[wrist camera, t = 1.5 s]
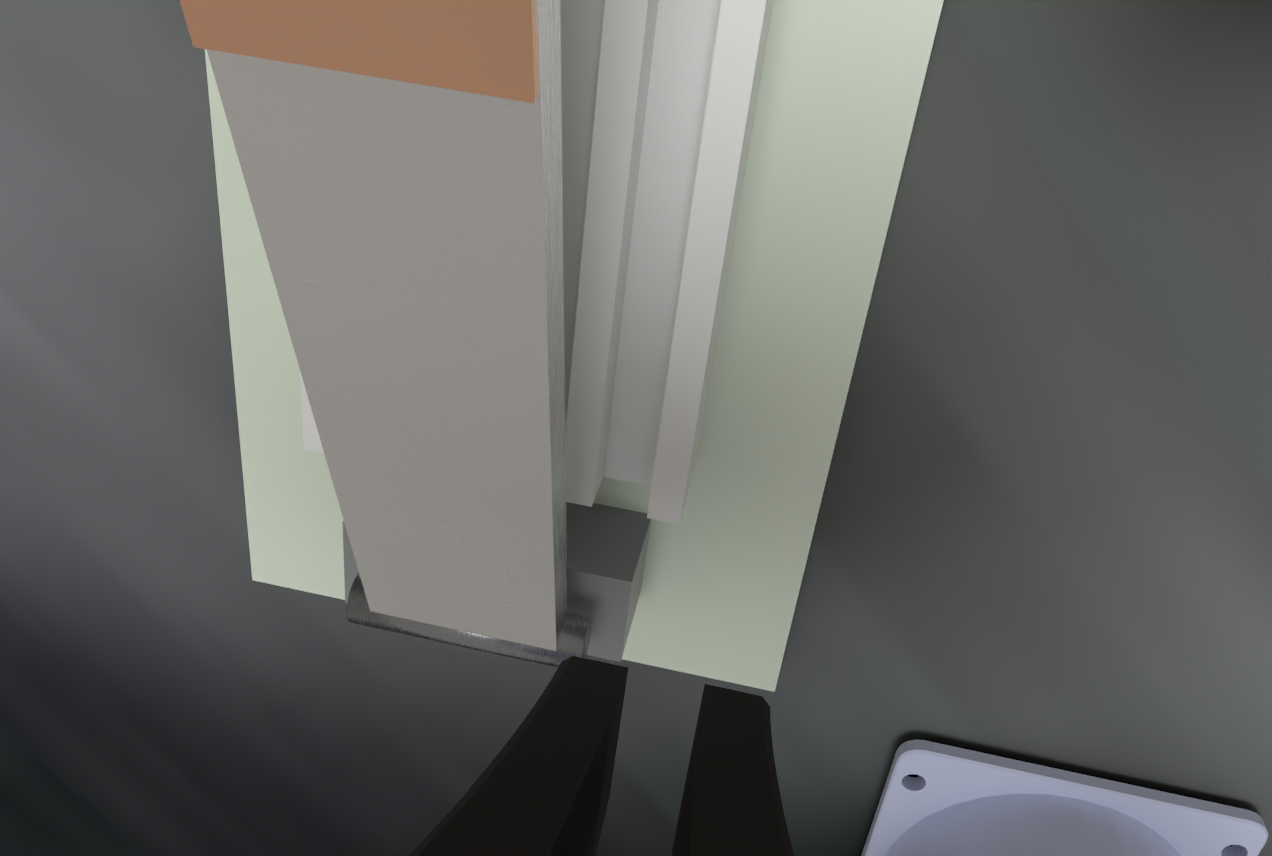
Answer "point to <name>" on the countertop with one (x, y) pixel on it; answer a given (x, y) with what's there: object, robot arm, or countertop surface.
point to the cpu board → (659, 315)
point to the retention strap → (420, 291)
